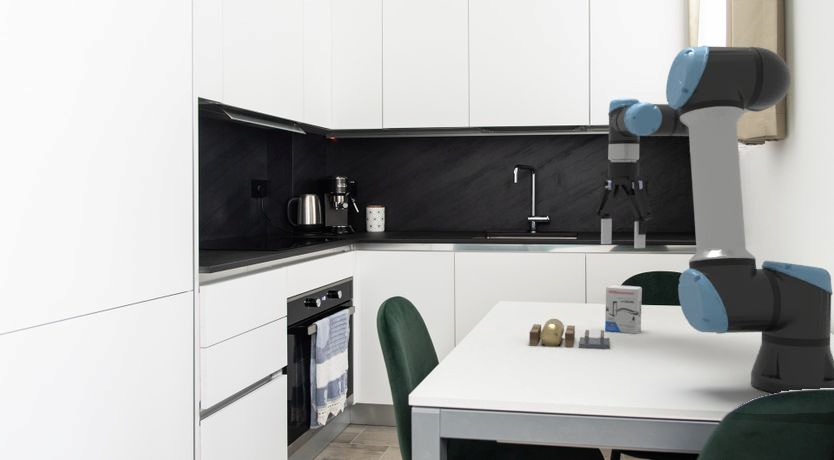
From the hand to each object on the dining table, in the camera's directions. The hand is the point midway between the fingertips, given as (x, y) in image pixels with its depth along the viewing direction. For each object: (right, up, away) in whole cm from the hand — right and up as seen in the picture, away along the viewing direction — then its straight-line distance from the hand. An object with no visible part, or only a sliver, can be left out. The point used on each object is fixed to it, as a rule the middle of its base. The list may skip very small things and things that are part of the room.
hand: (622, 246), depth 209 cm
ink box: (+2, -23, +8) cm, 24 cm away
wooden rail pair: (-19, -23, -7) cm, 31 cm away
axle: (-19, -21, -7) cm, 29 cm away
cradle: (-10, -23, -11) cm, 28 cm away
